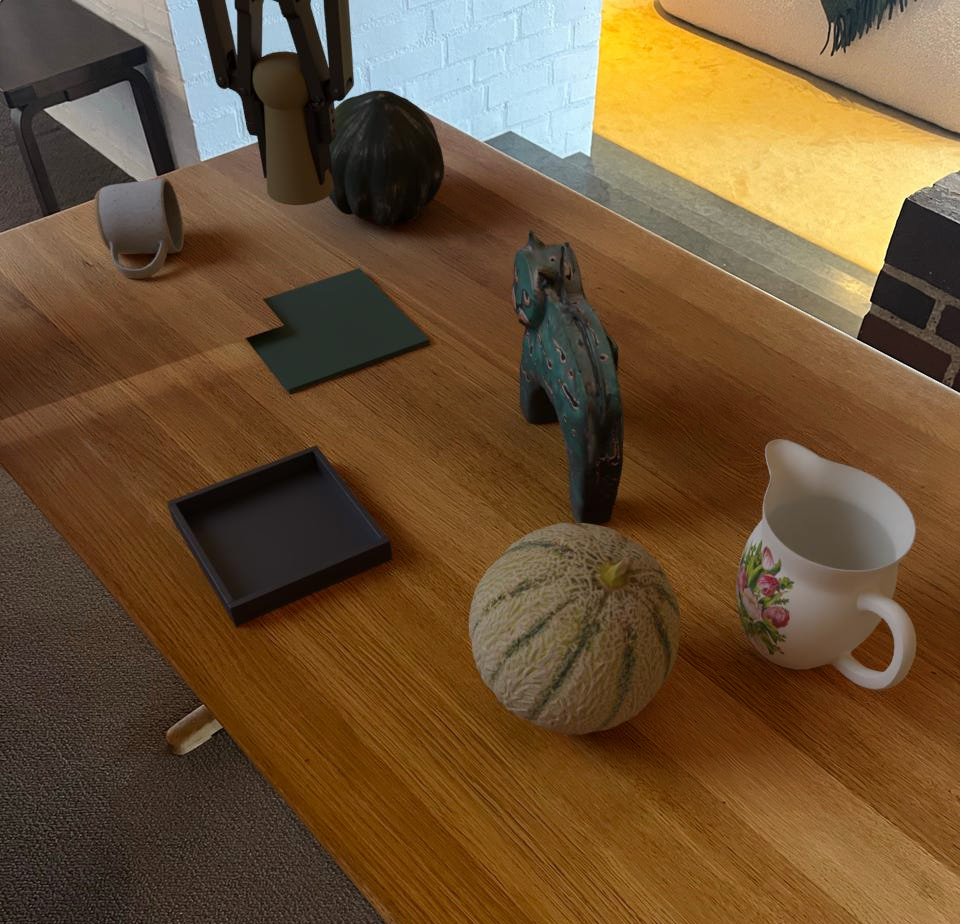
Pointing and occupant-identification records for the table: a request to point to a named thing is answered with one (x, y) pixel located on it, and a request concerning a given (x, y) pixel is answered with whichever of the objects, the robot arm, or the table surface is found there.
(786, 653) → the pitcher
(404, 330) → the mat
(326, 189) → the wooden peg doll
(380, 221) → the squash
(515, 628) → the cantaloupe
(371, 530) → the tray
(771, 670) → the table surface
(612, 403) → the ceramic cat
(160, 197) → the ceramic mug
